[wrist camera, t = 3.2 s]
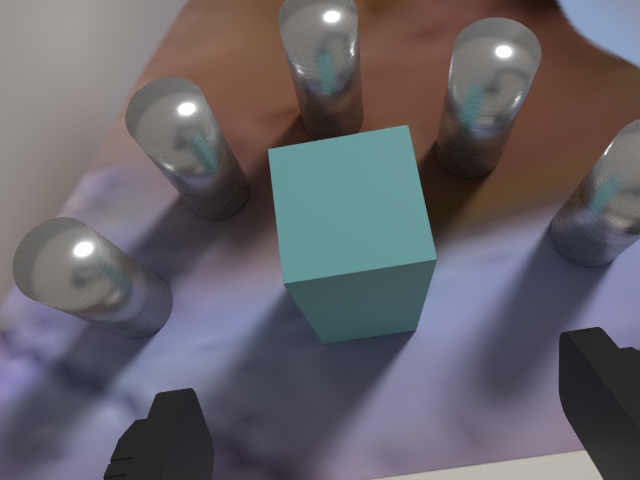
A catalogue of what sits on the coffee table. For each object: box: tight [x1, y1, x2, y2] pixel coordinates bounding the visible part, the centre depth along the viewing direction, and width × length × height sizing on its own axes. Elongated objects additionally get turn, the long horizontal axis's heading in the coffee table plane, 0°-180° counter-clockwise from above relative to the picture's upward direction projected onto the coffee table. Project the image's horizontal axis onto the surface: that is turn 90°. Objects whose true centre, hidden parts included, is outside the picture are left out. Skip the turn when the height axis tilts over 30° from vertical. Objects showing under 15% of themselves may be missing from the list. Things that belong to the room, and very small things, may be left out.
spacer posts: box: [13, 0, 640, 338], centre depth 23 cm, size 23×11×7 cm, turn 98°
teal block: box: [268, 125, 437, 344], centre depth 20 cm, size 4×4×10 cm
